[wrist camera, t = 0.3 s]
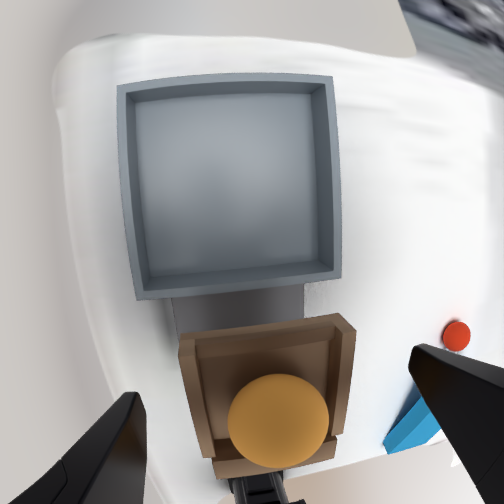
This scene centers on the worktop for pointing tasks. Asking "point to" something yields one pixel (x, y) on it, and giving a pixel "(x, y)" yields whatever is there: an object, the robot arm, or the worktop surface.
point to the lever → (420, 417)
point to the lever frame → (238, 308)
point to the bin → (229, 182)
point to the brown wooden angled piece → (261, 364)
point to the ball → (278, 420)
